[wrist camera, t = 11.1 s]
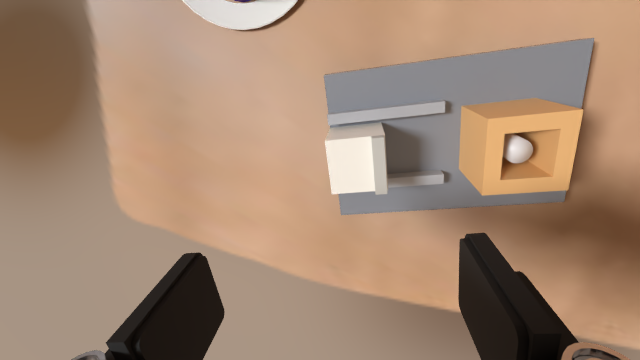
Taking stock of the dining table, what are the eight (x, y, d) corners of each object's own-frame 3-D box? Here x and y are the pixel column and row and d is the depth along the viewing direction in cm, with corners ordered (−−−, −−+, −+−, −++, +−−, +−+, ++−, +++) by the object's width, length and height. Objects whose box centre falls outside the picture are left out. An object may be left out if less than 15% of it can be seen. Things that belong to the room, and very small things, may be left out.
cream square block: (381, 122, 23) (385, 136, 19) (383, 170, 25) (388, 193, 20) (330, 127, 24) (323, 143, 20) (336, 174, 25) (331, 197, 21)
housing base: (581, 38, 21) (648, 33, 16) (555, 195, 25) (601, 228, 20) (325, 74, 24) (316, 79, 19) (341, 208, 28) (338, 240, 23)
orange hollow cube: (535, 97, 21) (583, 109, 17) (527, 163, 23) (568, 190, 19) (461, 105, 22) (487, 119, 18) (458, 168, 24) (482, 195, 19)
